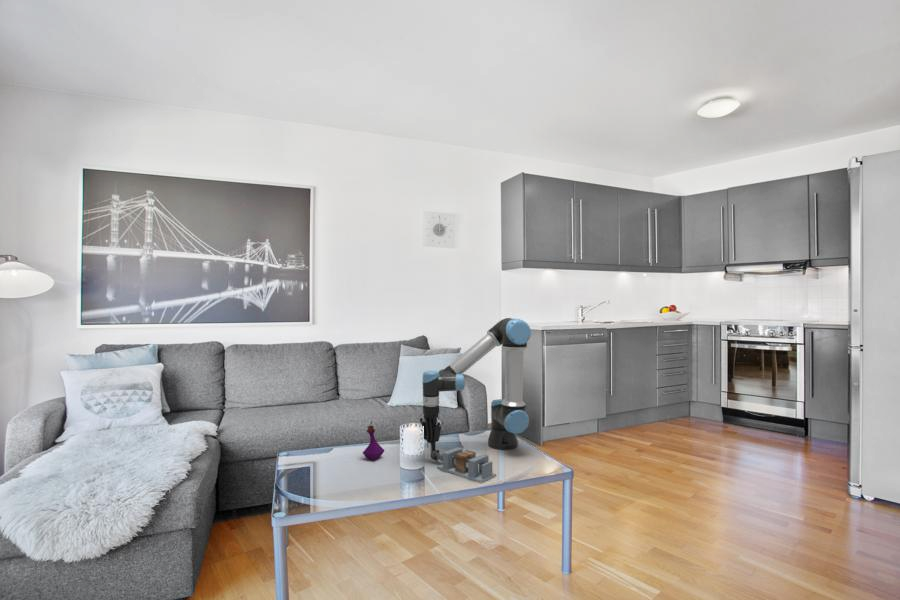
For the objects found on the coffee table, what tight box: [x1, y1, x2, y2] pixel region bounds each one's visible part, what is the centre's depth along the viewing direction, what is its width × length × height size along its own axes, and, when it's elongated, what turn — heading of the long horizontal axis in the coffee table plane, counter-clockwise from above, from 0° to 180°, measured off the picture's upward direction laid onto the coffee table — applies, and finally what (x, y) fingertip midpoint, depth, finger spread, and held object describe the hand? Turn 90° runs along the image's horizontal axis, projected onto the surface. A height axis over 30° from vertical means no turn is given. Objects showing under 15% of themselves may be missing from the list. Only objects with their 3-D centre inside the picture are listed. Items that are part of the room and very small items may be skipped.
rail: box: [436, 446, 497, 484], centre depth 202 cm, size 10×25×8 cm, turn 48°
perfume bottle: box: [362, 419, 385, 461], centre depth 220 cm, size 8×8×18 cm
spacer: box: [455, 449, 477, 474], centre depth 202 cm, size 8×5×7 cm, turn 138°
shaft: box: [430, 448, 468, 469], centre depth 207 cm, size 5×23×5 cm, turn 48°
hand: (431, 456), depth 216 cm, fingers closed
